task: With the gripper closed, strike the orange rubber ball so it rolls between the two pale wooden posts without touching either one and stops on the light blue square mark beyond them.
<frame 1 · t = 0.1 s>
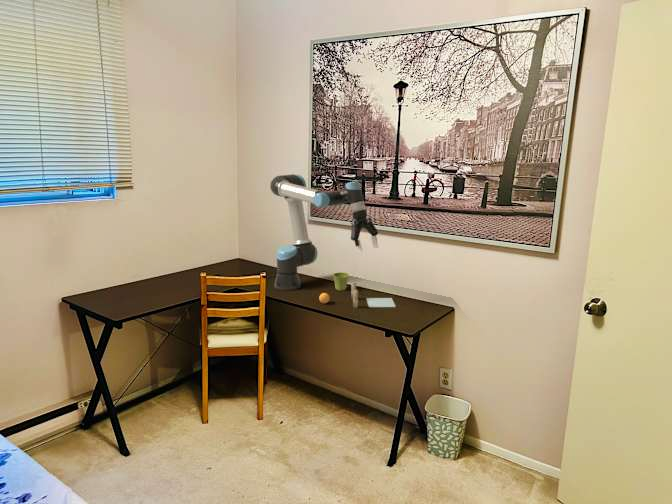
hand: (368, 250, 262), 28 cm above the table, tool tilted 20°, fingers open, 13 cm apart
gate post 1: (353, 298, 270), on the table
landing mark: (380, 302, 264), on the table
ball: (324, 298, 262), on the table
plant pot: (340, 289, 287), on the table
gate post 2: (355, 306, 257), on the table
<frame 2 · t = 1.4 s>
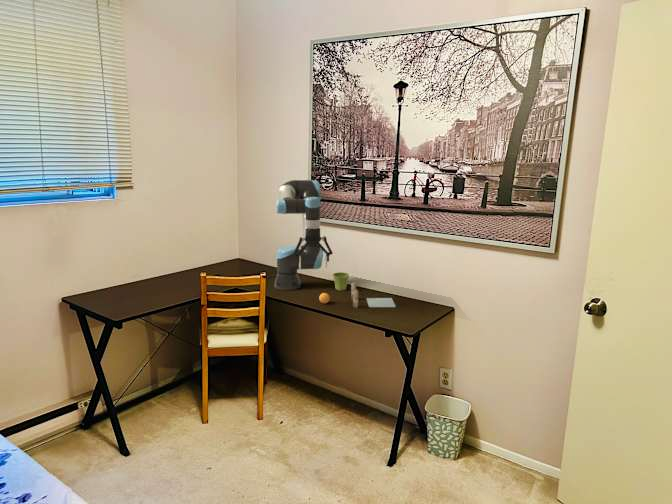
hand: (313, 268, 257), 19 cm above the table, tool pointing down, fingers open, 13 cm apart
nothing on the table moved.
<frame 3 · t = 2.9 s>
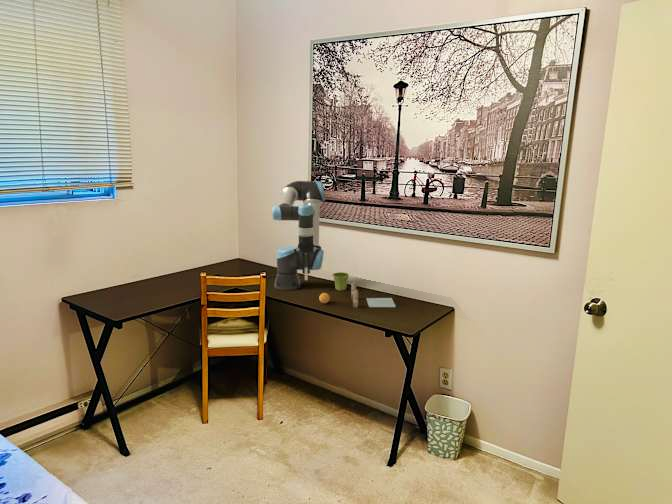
hand: (306, 279, 259), 13 cm above the table, tool pointing down, fingers closed
nothing on the table moved.
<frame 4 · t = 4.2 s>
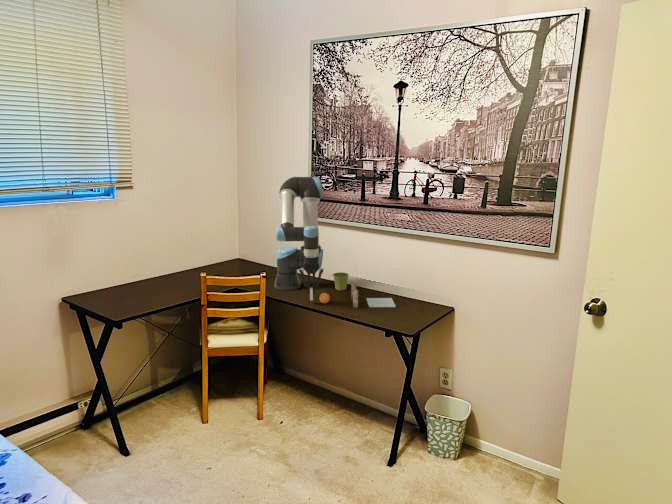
hand: (311, 299, 262), 2 cm above the table, tool pointing down, fingers closed
nothing on the table moved.
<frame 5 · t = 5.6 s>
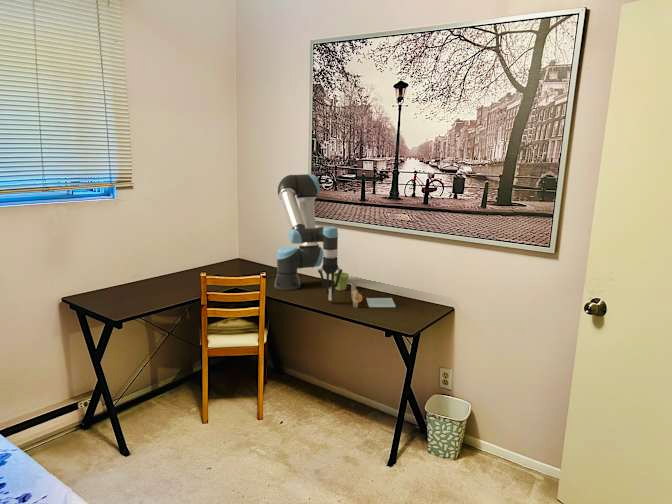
hand: (330, 299, 262), 2 cm above the table, tool pointing down, fingers closed
ball: (357, 298, 263), on the table
everything else where it was.
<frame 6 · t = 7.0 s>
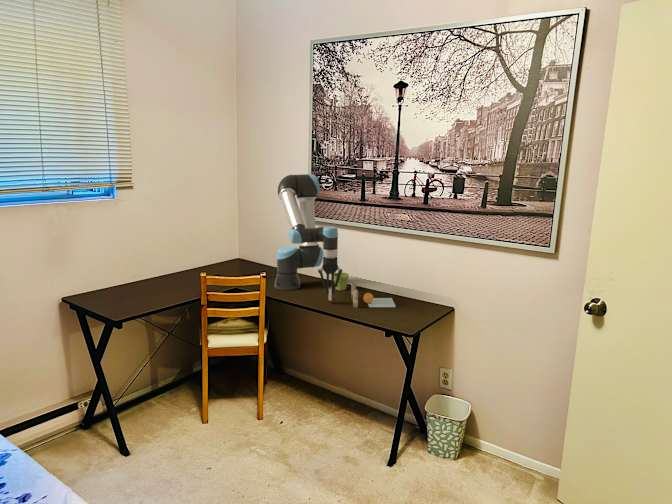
hand: (330, 299, 262), 2 cm above the table, tool pointing down, fingers closed
ball: (368, 298, 263), on the table
everything else where it was.
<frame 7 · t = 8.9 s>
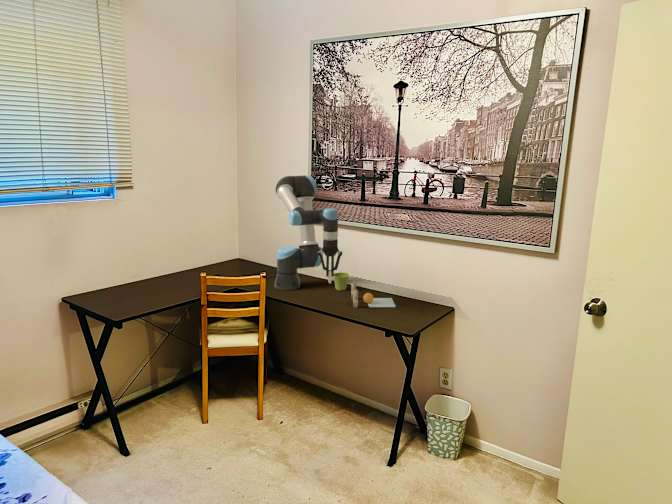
hand: (329, 282, 261), 11 cm above the table, tool pointing down, fingers closed
nothing on the table moved.
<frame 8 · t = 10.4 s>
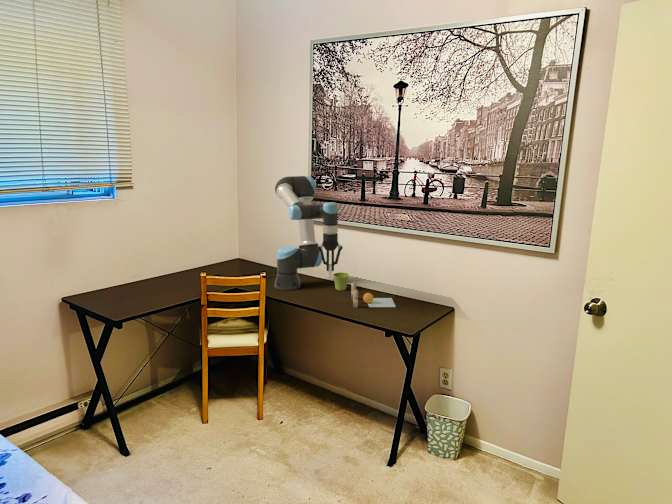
hand: (330, 276, 260), 14 cm above the table, tool pointing down, fingers closed
nothing on the table moved.
at the end: ball 6.7 cm from the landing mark (horizontally); ball never touched gate post 1; ball never touched gate post 2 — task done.
